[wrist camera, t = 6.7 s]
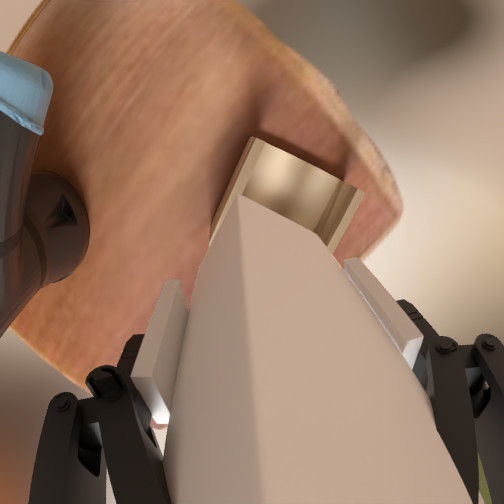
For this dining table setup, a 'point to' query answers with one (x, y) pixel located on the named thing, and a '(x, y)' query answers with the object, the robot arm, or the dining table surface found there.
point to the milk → (295, 383)
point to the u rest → (291, 192)
